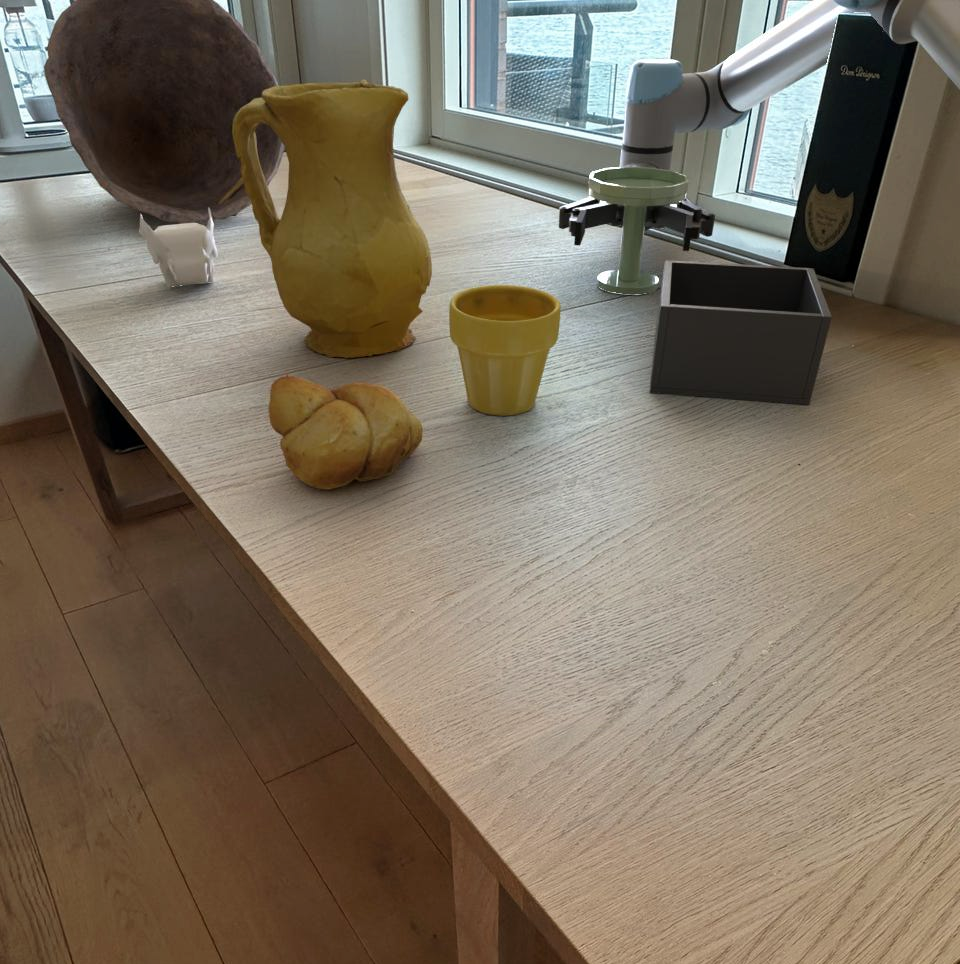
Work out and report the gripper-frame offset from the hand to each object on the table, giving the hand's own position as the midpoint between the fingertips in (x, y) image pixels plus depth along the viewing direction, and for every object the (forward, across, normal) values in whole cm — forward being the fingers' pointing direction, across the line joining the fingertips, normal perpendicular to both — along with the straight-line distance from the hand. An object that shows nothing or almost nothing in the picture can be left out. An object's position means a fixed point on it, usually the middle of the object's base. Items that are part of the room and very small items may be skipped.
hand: (632, 236), depth 107 cm
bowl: (-31, +74, -7) cm, 81 cm away
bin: (+24, -12, -7) cm, 27 cm away
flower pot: (+37, +10, -7) cm, 39 cm away
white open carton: (+8, +57, -7) cm, 58 cm away
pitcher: (+22, +30, -7) cm, 38 cm away
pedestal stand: (-3, 0, -7) cm, 8 cm away
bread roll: (+53, +20, -7) cm, 57 cm away
